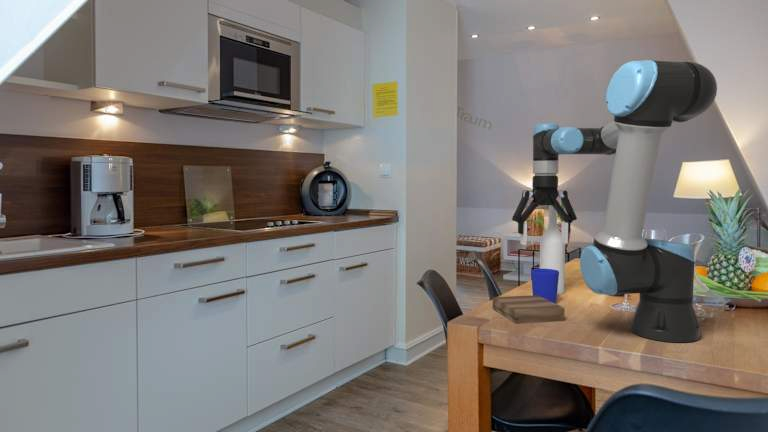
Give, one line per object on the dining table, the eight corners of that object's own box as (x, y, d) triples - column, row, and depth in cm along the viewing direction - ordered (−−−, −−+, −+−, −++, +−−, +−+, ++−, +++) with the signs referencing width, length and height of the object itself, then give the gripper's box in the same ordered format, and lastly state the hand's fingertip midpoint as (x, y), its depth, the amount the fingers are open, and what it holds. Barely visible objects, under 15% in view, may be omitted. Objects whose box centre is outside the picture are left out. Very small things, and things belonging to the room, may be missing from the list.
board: (564, 320, 146) (564, 307, 146) (515, 323, 144) (515, 310, 143) (537, 306, 162) (537, 295, 162) (492, 309, 159) (492, 297, 159)
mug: (552, 297, 174) (553, 266, 174) (561, 306, 162) (561, 273, 162) (526, 296, 175) (527, 266, 174) (533, 305, 163) (533, 272, 162)
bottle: (535, 289, 186) (536, 202, 183) (558, 289, 186) (559, 202, 184) (544, 295, 178) (546, 203, 175) (568, 294, 178) (570, 203, 176)
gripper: (576, 174, 172) (574, 241, 173) (501, 175, 167) (501, 243, 169) (589, 174, 164) (587, 244, 166) (511, 175, 160) (511, 246, 162)
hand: (544, 244), depth 167 cm, fingers open, 13 cm apart
